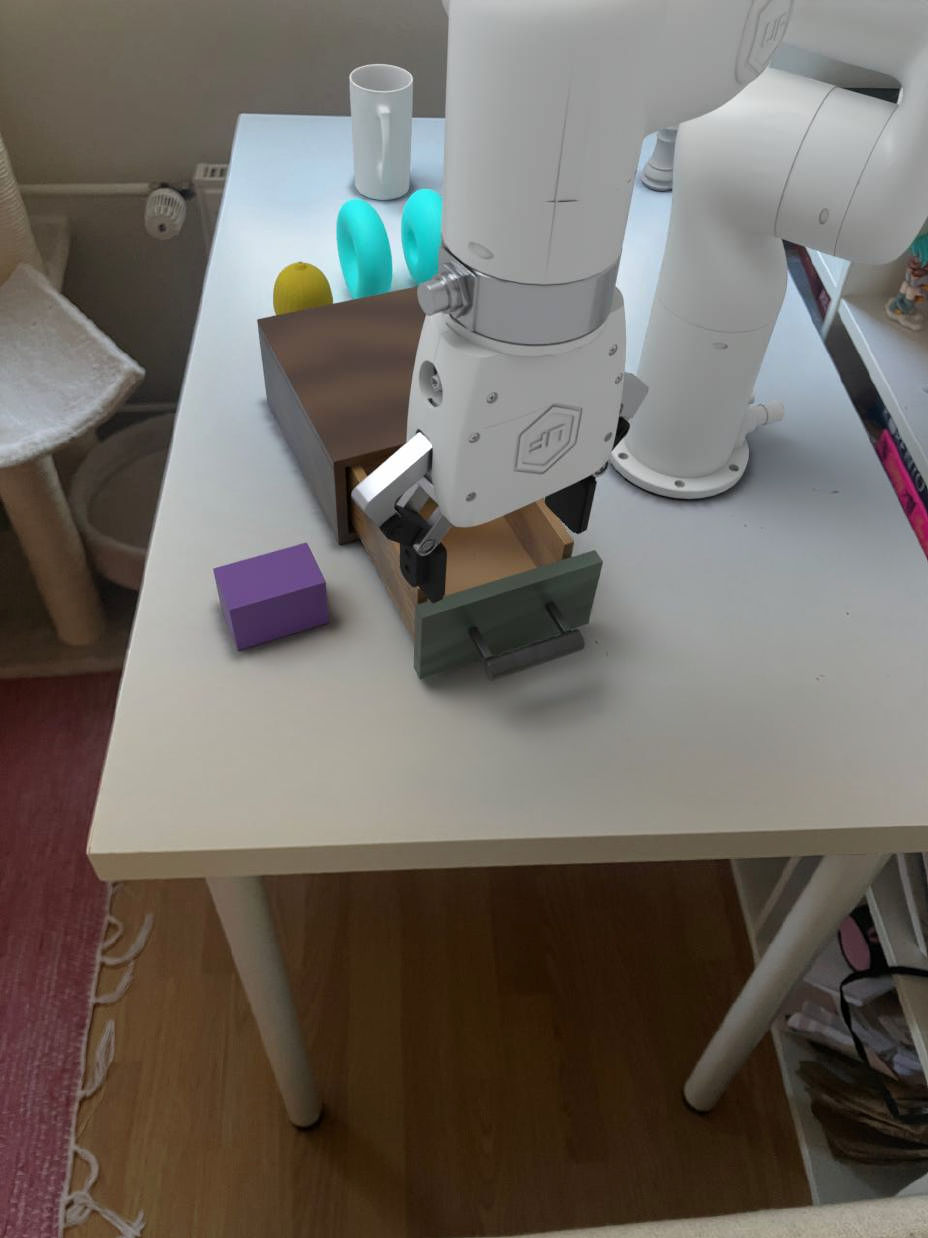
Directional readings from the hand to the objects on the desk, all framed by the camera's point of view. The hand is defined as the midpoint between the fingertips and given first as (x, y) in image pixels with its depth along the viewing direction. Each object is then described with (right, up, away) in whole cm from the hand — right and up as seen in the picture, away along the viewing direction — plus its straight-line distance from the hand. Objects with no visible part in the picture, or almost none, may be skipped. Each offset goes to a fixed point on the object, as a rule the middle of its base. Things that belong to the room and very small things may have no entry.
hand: (496, 550), depth 56 cm
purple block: (-16, -4, +19) cm, 25 cm away
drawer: (-1, -1, +20) cm, 21 cm away
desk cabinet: (-9, +11, +31) cm, 34 cm away
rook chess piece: (+21, +48, +64) cm, 83 cm away
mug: (-11, +45, +59) cm, 75 cm away
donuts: (-9, +29, +46) cm, 55 cm away
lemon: (-17, +23, +41) cm, 50 cm away
